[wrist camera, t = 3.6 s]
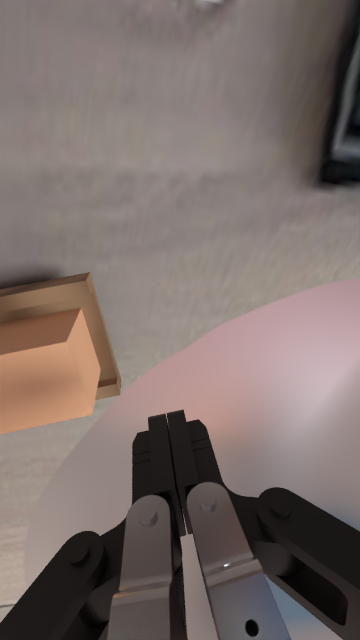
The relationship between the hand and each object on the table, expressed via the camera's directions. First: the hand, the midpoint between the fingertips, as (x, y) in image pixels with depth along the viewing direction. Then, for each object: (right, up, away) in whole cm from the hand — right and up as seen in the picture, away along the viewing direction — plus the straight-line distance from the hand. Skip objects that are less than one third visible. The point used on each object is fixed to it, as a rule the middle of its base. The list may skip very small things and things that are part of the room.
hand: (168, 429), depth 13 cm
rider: (-9, +2, +9) cm, 13 cm away
